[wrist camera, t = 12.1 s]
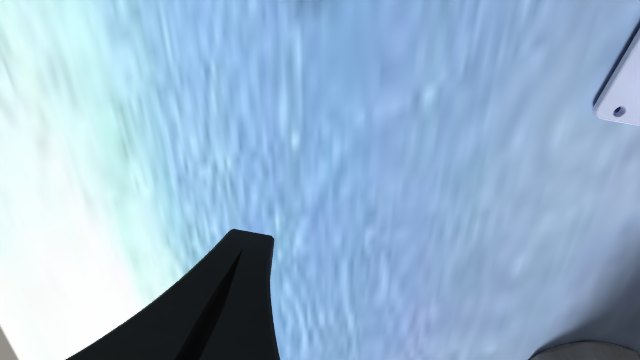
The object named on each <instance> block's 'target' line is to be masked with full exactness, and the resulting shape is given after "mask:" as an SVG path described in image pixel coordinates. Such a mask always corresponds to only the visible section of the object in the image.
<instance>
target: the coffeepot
mask: <svg viewBox="0 0 640 360" xmlns="http://www.w3.org/2000/svg"><path fill="white" fill-rule="evenodd" d="M530 360H640V358H639V356H638V354H637V352H636V351H633V350H630V349H628V348H625V347H622V346H619V345H615V344H611V343H606V342H598V341H584V342H574V343H568V344H563V345H559V346H556V347H553V348H550V349H547V350H545V351H543V352H541V353H539V354H537V355H536V356H534V357H533V358H531V359H530Z"/></svg>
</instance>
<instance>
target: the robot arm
mask: <svg viewBox="0 0 640 360" xmlns="http://www.w3.org/2000/svg"><path fill="white" fill-rule="evenodd" d="M620 106H621V108H620V110H619V111H618V112H617V113H615V114H613V112H614V110H615V109H616V108H618V107H620ZM593 113H594V115H595V116H596V117H598V118H600V119H603V120H608V121H614V122H619V123H625V124H630V125H636V126H640V29H639V30H638V32H637V34H636V36H635V37H634V39H633V41H632V42H631V44H630V46H629V47H628V49H627V51H626V53H625V54H624V56H623V58H622V59H621V61H620V63H619V64H618V66H617V68H616V70H615V71H614V73H613V75H612V76H611V78H610V80H609V81H608V83H607V85H606V87H605V88H604V90H603V92H602V93H601V95H600V97H599V98H598V100H597V102H596V104H595V105H594V108H593ZM273 248H274V238H273V237H272V236H270V235H265V234H259V233H253V232H248V231H242V230H237V229H232V230H230V231H229V232H228V233H227V234H226V235H225V236H224V237H223V238H222V239H221V241H220V242H219V243H218V244H217V245H216V246H215V247H214V248H213V249H212V250H211V251H210V252H209V253H208V254H207V255H206V256H205V257H204V258H203V259H202V260H201V261H199V262H198V263H197V264H196V265H195V266H194V267H193V268H192V269H191V270H190V271H189V272H188V273H187V274H185V275H184V276H183V277H182V278H181V279H180V280H179V281H177V282H176V283H175V284H174V285H173V286H171V287H170V288H169V289H168V290H167V291H165V292H164V293H163V294H162V295H161V296H159V297H158V298H157V299H156V300H154V301H153V302H152V303H150V304H149V305H148V306H146V307H145V308H144V309H142V310H141V311H140V312H138V313H137V314H136V315H134V316H133V317H131V318H130V319H129V320H127V321H126V322H124V323H123V324H122V325H120V326H118V327H117V328H115V329H114V330H112V331H111V332H109V333H108V334H106V335H105V336H103V337H102V338H100V339H99V340H97V341H96V342H94V343H93V344H91V345H89V346H88V347H86V348H85V349H83V350H81V351H80V352H78V353H76V354H75V355H73V356H71V357H69V358H68V359H66V360H280V357H279V353H278V347H277V342H276V336H275V330H274V323H273V315H272V306H271V295H270V275H271V266H272V257H273Z"/></svg>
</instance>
